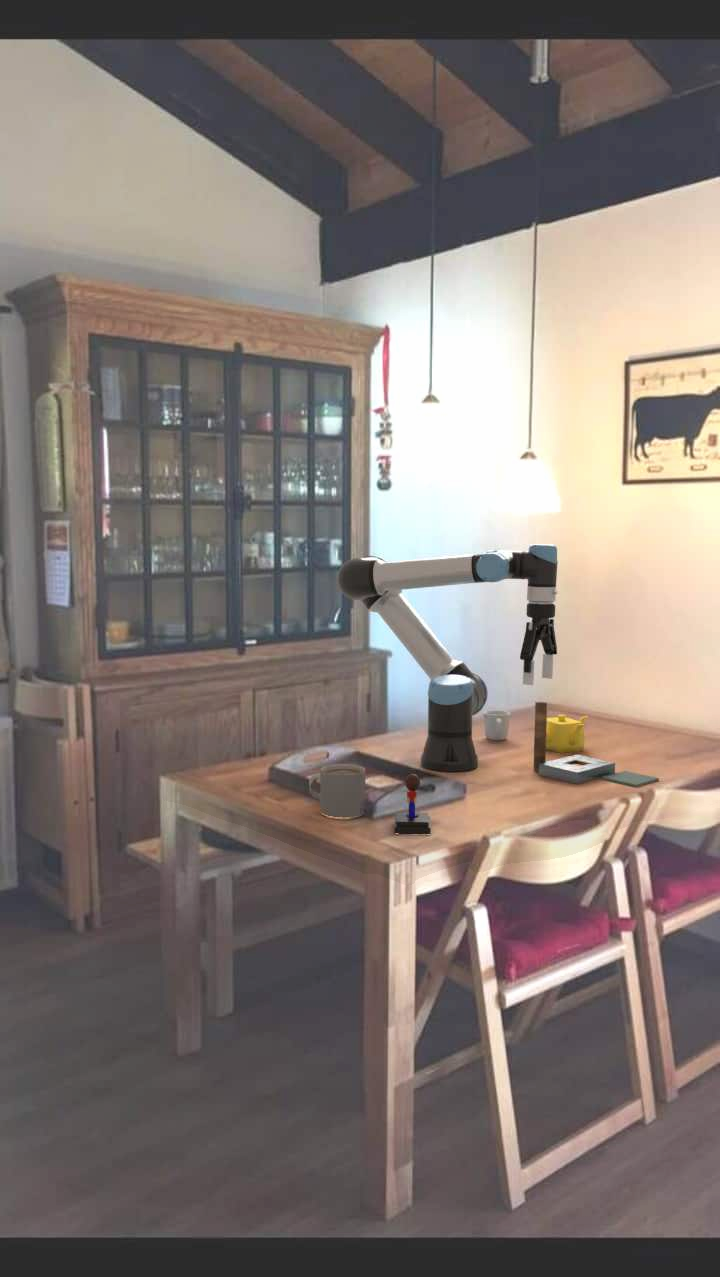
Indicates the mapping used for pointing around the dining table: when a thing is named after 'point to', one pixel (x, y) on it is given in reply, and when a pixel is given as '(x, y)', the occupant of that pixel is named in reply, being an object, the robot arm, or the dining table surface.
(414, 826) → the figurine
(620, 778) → the coaster
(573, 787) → the dining table surface
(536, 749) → the brown wooden block
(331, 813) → the coffee mug
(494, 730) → the cup
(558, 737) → the teapot
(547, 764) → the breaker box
